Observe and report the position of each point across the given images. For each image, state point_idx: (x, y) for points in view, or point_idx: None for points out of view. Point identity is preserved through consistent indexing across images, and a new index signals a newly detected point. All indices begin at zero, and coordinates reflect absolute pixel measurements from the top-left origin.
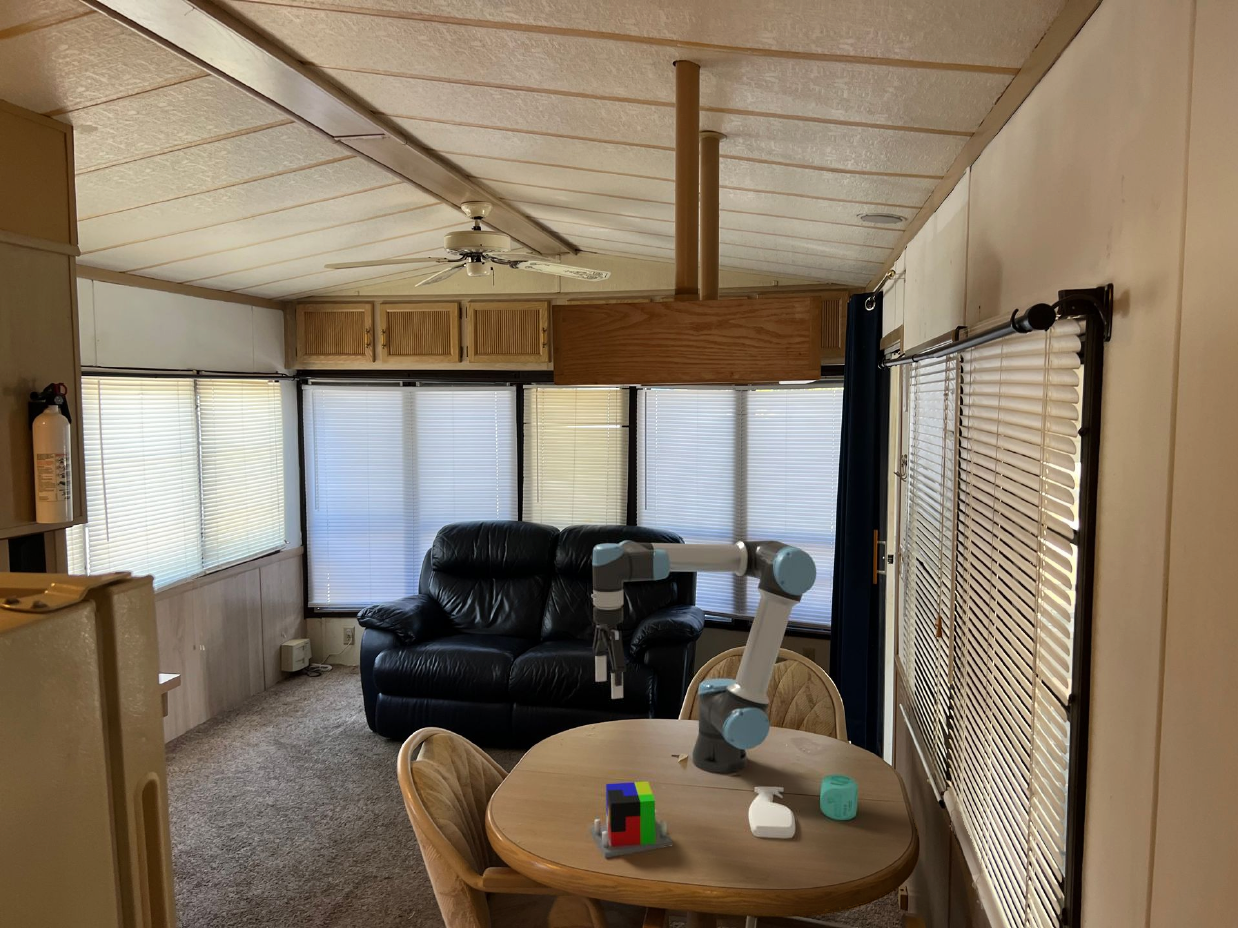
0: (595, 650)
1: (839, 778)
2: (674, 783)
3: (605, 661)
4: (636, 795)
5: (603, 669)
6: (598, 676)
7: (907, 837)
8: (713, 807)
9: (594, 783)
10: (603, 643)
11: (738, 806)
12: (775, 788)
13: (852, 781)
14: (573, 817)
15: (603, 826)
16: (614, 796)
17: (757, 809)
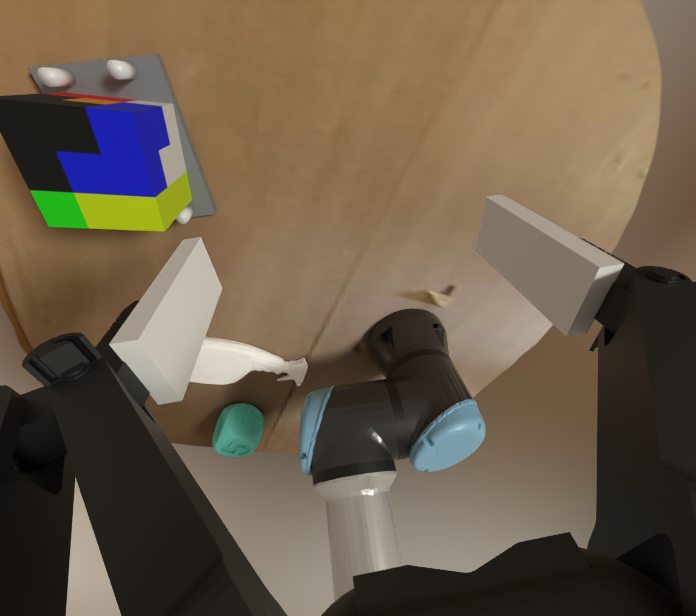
0: (683, 293)
1: (243, 448)
2: (354, 271)
3: (541, 306)
4: (69, 187)
5: (512, 266)
6: (498, 219)
7: (185, 444)
8: (264, 306)
9: (398, 121)
10: (622, 441)
11: (264, 334)
12: (296, 379)
13: (234, 455)
14: (237, 22)
15: (165, 94)
16: (43, 120)
17: (224, 355)
